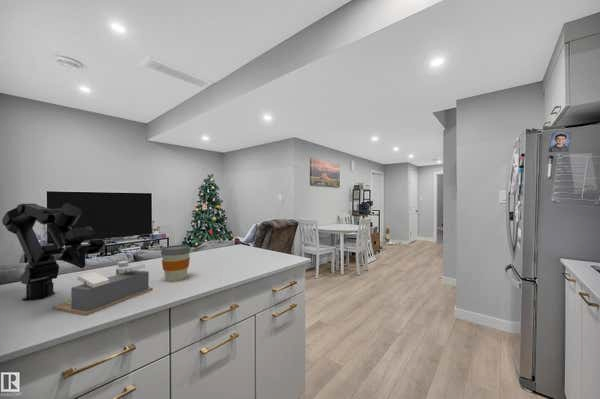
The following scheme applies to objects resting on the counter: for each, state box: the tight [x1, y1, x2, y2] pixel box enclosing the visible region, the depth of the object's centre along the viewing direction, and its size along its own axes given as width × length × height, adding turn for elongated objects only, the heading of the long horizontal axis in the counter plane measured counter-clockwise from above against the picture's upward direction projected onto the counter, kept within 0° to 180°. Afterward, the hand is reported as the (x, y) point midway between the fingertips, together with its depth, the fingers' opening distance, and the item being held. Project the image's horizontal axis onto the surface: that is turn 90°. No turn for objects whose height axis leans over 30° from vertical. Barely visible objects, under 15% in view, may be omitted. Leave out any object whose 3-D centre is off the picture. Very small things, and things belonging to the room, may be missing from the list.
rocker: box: [118, 263, 146, 273], centre depth 96 cm, size 8×5×2 cm, turn 73°
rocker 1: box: [76, 271, 109, 288], centre depth 83 cm, size 8×5×2 cm, turn 72°
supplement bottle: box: [115, 260, 131, 275], centre depth 109 cm, size 5×5×10 cm
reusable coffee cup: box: [161, 244, 191, 282], centre depth 115 cm, size 13×13×15 cm
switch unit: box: [51, 269, 153, 316], centre depth 91 cm, size 17×24×8 cm
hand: (83, 267), depth 85 cm, fingers closed
